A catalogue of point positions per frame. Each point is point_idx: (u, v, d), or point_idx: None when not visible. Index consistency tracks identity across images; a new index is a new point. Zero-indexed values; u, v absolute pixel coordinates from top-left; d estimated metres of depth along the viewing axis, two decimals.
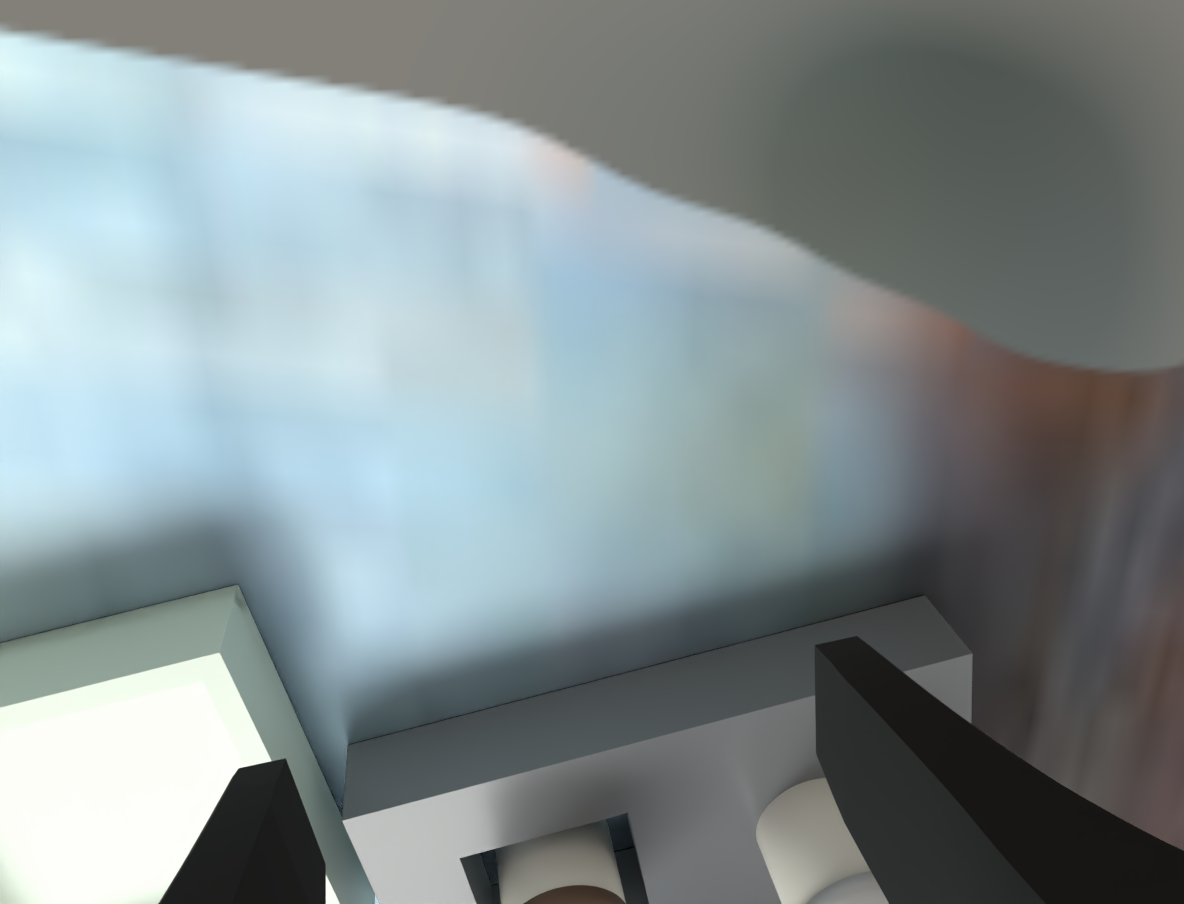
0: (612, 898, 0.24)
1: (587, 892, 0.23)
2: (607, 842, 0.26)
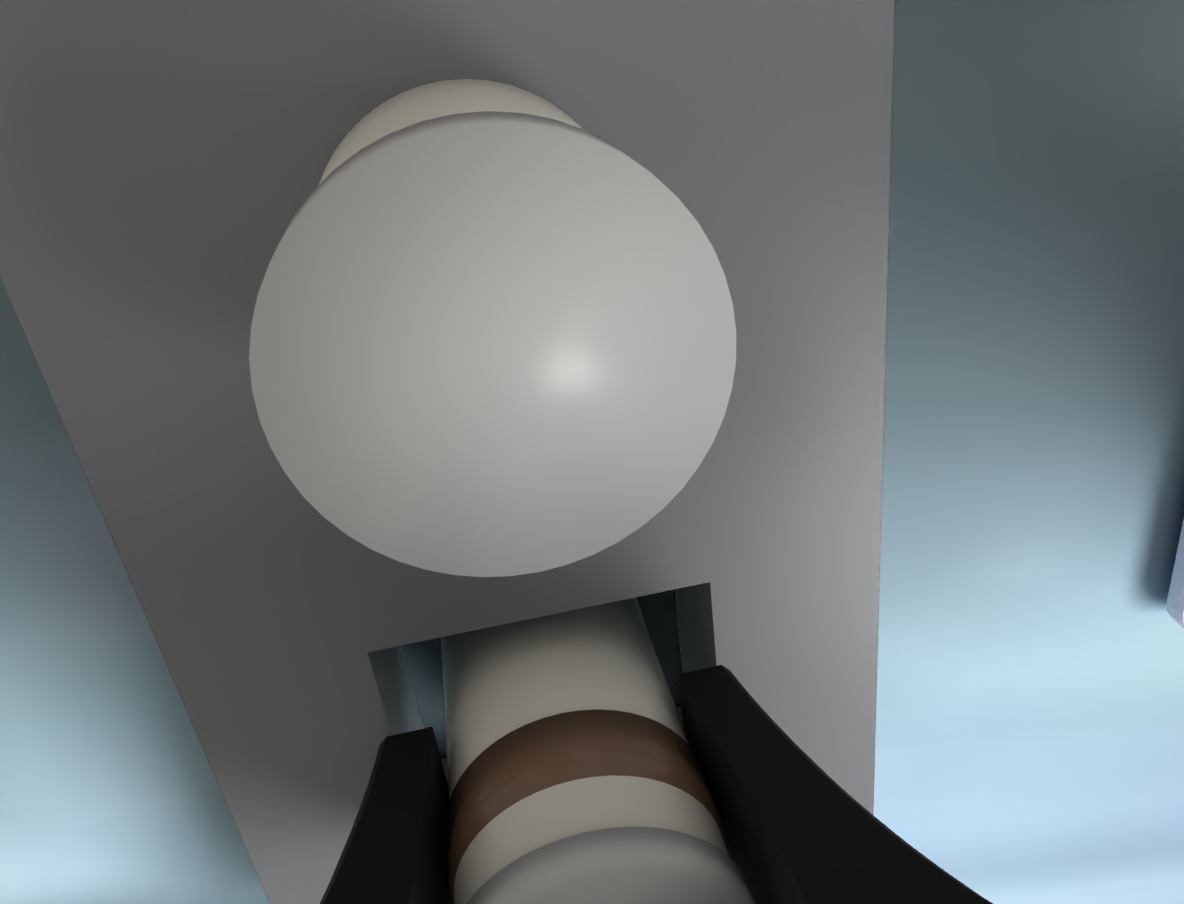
0: (489, 758, 0.11)
1: (453, 806, 0.11)
2: (501, 638, 0.13)
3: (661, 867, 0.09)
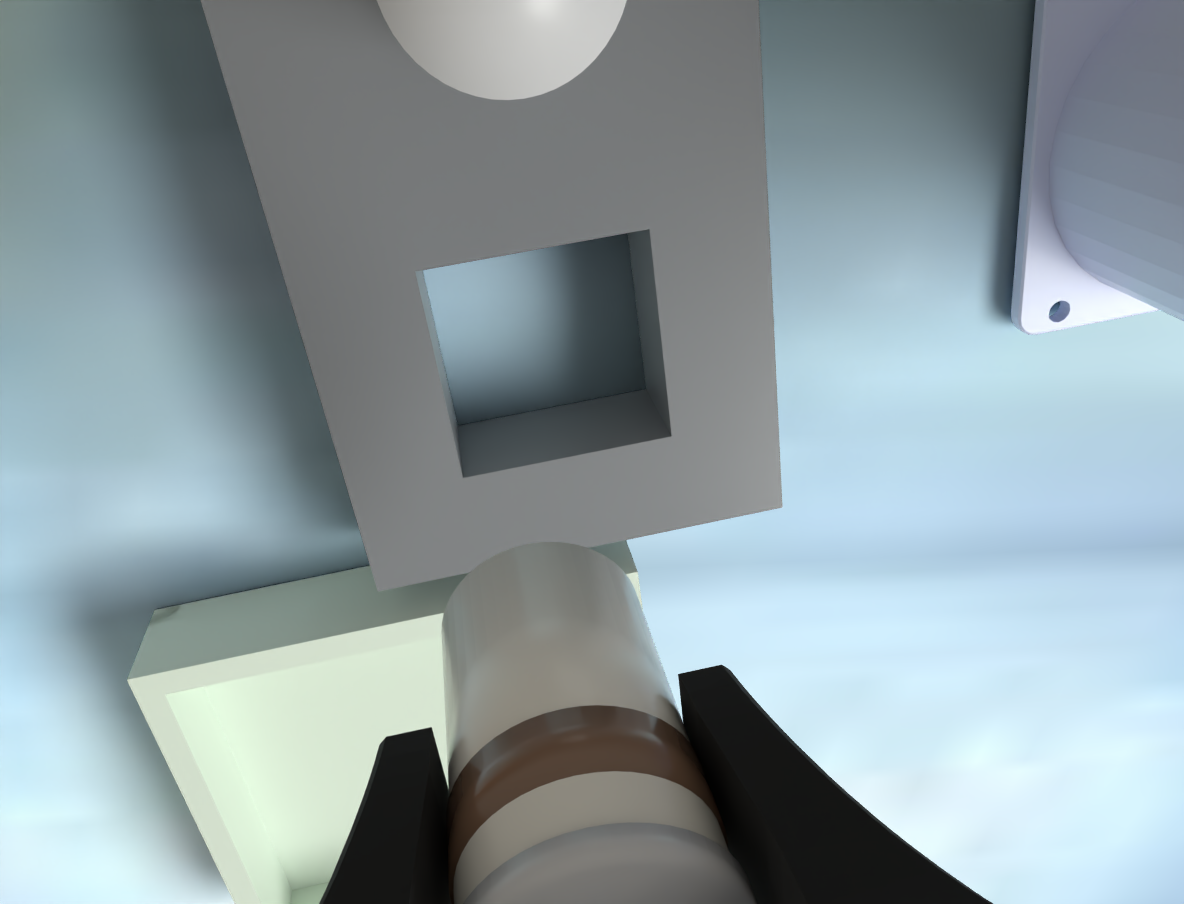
0: (490, 753, 0.11)
1: (453, 801, 0.11)
2: (502, 634, 0.13)
3: (662, 863, 0.09)
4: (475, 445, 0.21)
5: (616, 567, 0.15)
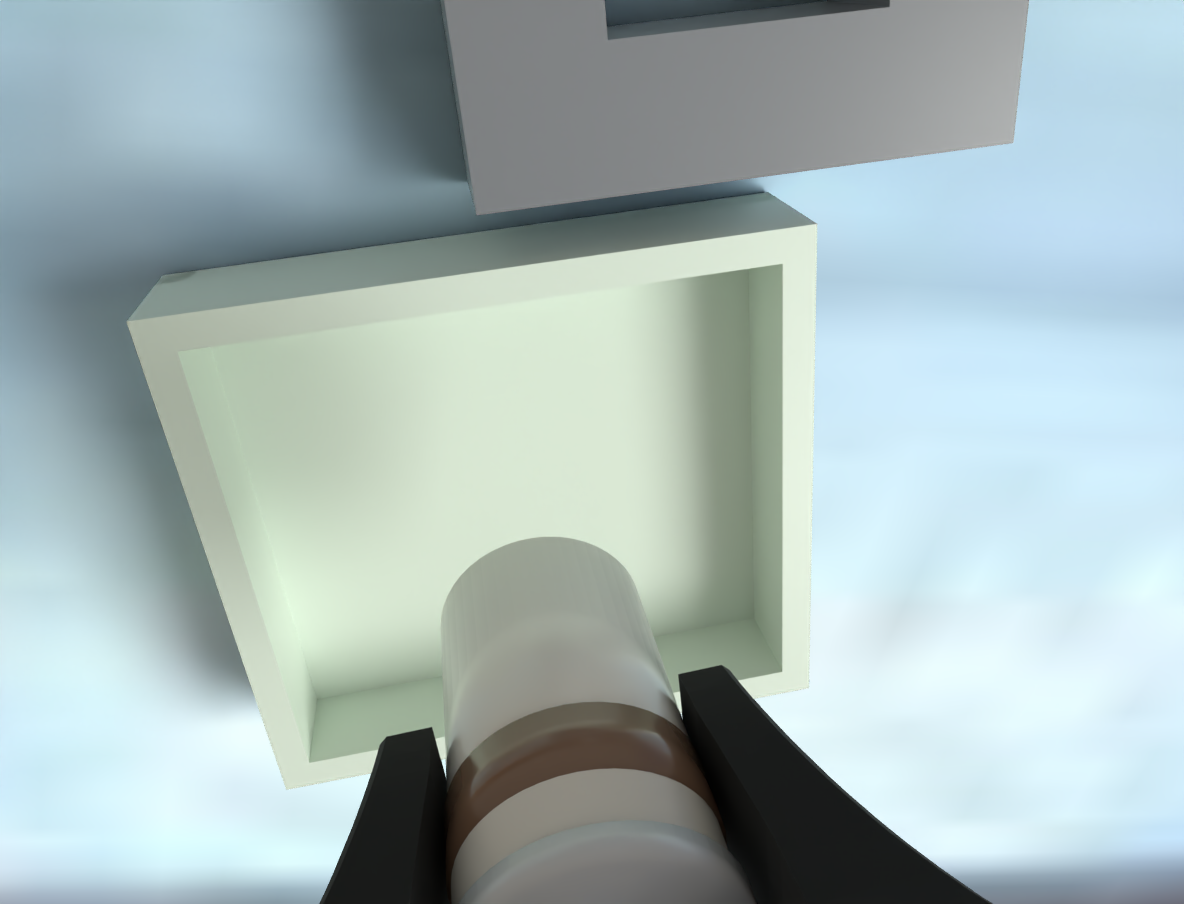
0: (492, 747, 0.11)
1: (452, 793, 0.11)
2: (505, 627, 0.13)
3: (665, 862, 0.09)
4: (613, 31, 0.15)
5: (618, 564, 0.15)
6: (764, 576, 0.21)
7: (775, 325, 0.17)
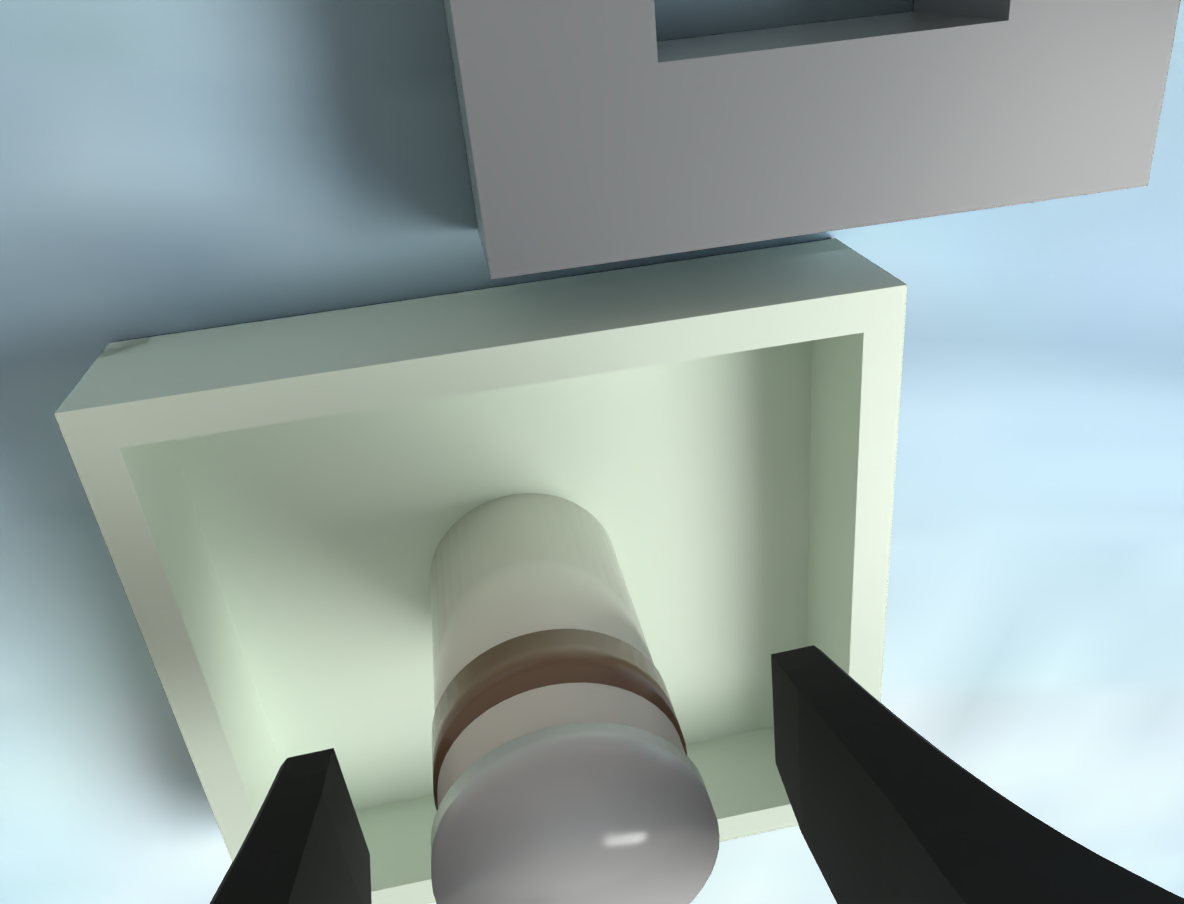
0: (475, 669, 0.12)
1: (439, 713, 0.12)
2: (488, 570, 0.14)
3: (626, 756, 0.11)
4: (659, 50, 0.12)
5: (594, 519, 0.16)
6: None
7: (849, 402, 0.14)
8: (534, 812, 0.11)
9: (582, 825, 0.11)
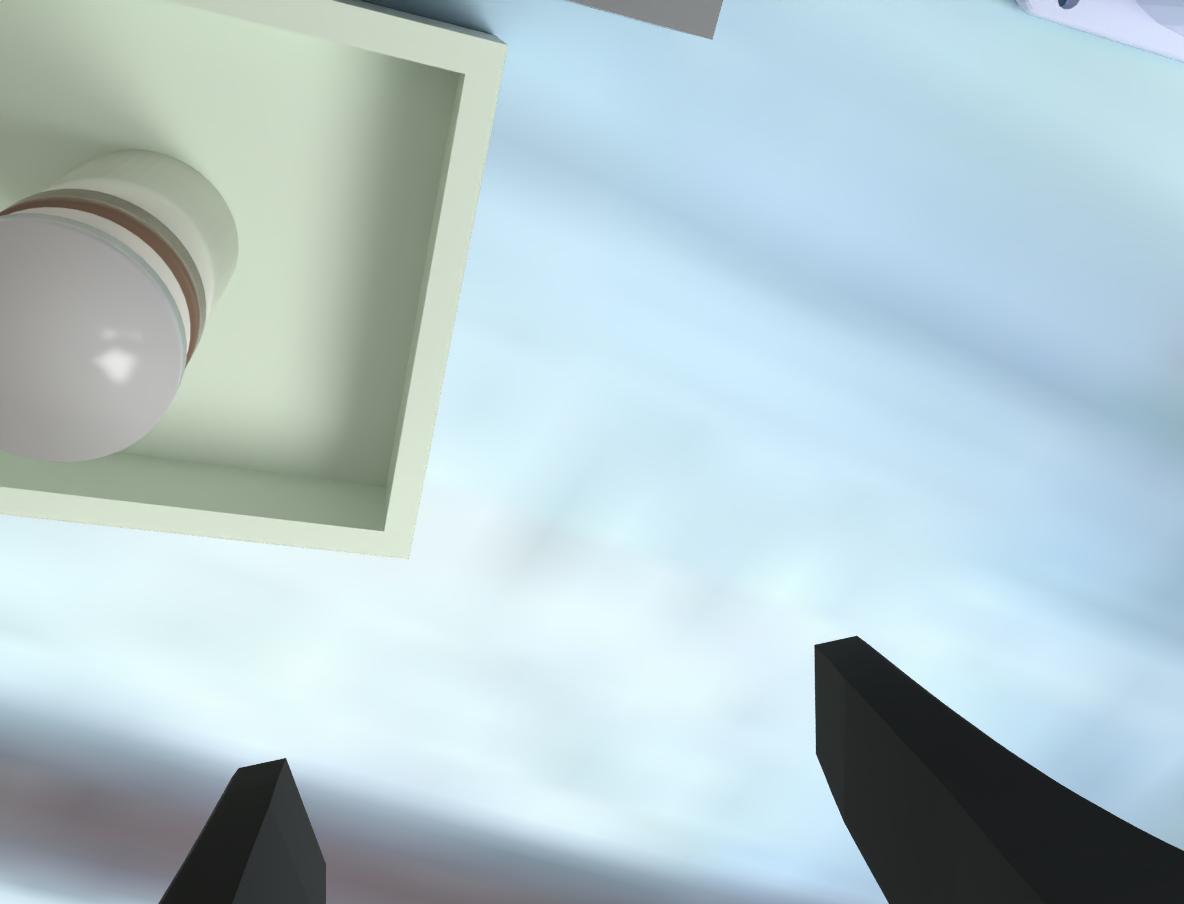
0: None
1: None
2: (90, 170, 0.16)
3: (104, 249, 0.12)
4: None
5: (224, 203, 0.18)
6: (397, 433, 0.20)
7: (451, 146, 0.17)
8: (9, 273, 0.12)
9: (52, 306, 0.13)
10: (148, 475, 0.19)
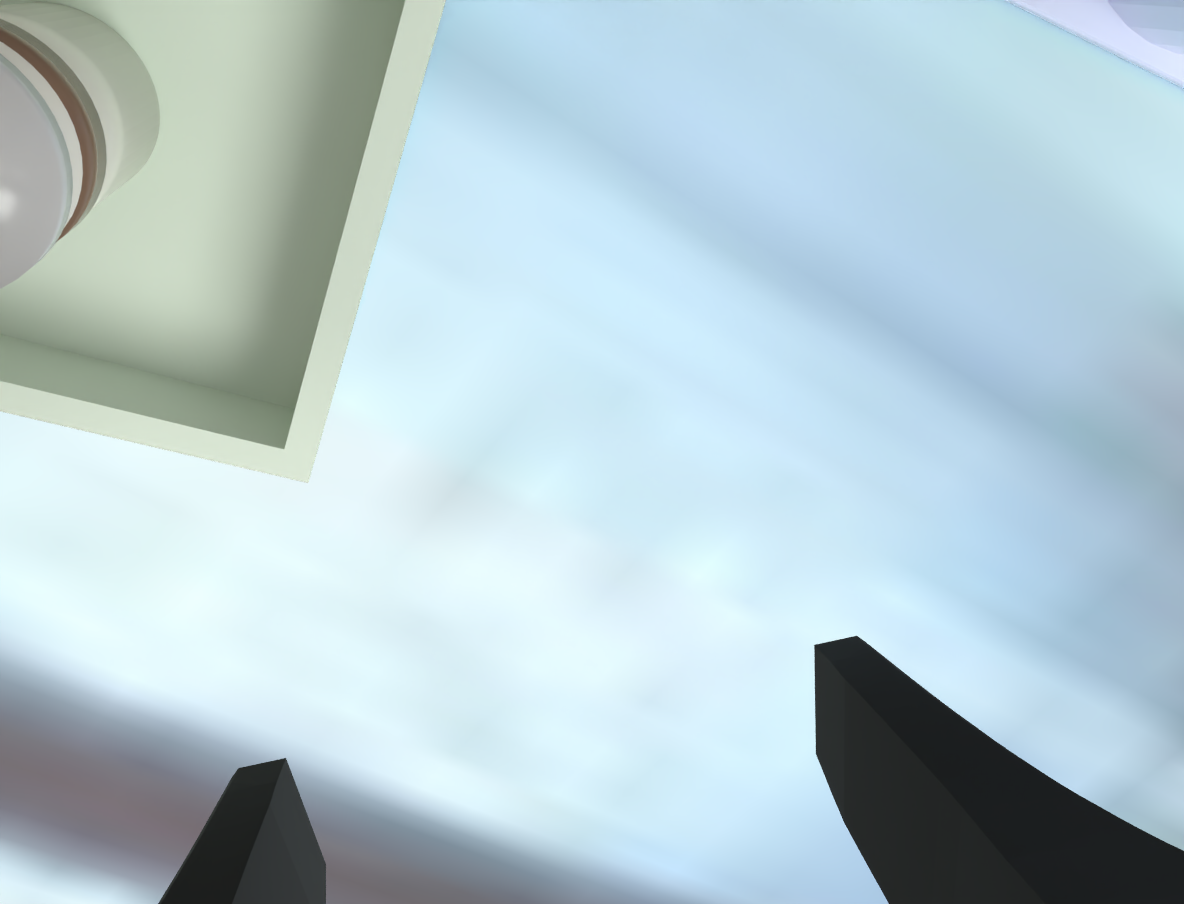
0: None
1: None
2: None
3: None
4: None
5: (148, 76, 0.17)
6: (310, 349, 0.19)
7: (394, 40, 0.16)
8: None
9: None
10: (35, 361, 0.18)
